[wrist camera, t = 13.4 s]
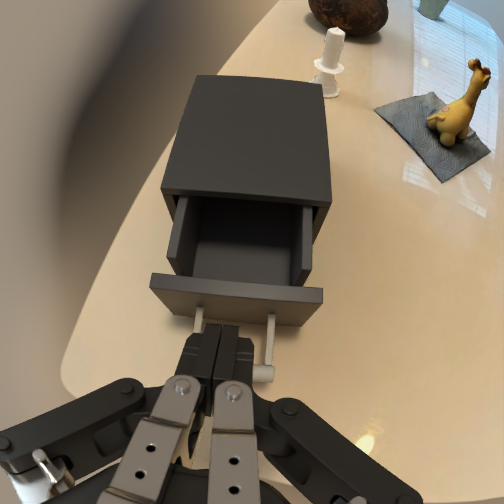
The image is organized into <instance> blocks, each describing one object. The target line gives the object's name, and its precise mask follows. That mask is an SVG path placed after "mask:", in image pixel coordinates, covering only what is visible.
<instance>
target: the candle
mask: <svg viewBox="0 0 504 504" xmlns="http://www.w3.org/2000/svg"><path fill="white" fill-rule="evenodd" d="M344 38H345V32H343V31H342V30H340V29H339V28H338V27H337V28H330V29H328V31H327V34H326V38H325V40H324V42H325V46H324V51H323V56H322V58H319V59H316V60H315V61H314V65H315V67H316V68H317V69H319V70H320V71H321V73H320V74H319V75H317V76H315V77H314V79H312V80H310V81H309V83H317V84H322V88H323V97H326V98H332V97H336V96H337V95H338V94H339V93H340V89H339V87H338V86H337V82H336V80H335V79H334V76H333V74H340V73H342V72H343V71H344V68H343V66H342V65H341V64H340V63H339V58H340V54H341V50H342V49H343V43H344Z"/></svg>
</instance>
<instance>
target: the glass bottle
mask: <svg viewBox="0 0 504 504" xmlns="http://www.w3.org/2000/svg"><path fill="white" fill-rule="evenodd" d="M308 2H309V6H310V9H311V11H312V13H313V14H314V16H315V17H316V18H317V19H318V20H319V21H320V22H321V23H322V24H323V25H325V26H326V27H328V28H337V27H338V28H339V29H340V30H342V31H343V32H345V34H347V35H353V36H364V35H369V34H372V33H375V32H376V31H378V30H380V29H381V28H382V27H383V26H384V25H385V23H386V21H387V19H388V7H387V0H308Z"/></svg>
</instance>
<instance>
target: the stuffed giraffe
mask: <svg viewBox="0 0 504 504" xmlns="http://www.w3.org/2000/svg"><path fill="white" fill-rule="evenodd" d="M468 66H469V69H471V70H472V71H474V73H473V75H472V77H471V81H470V85H469V87H468V90H467V92H466V94H465V95H464V96H463V97H462V98H460V99H458V100H456V101H454V102H452V103H450V104H448V105H446V104H445V103H444V102H443V101H442V100H441V99H439V98H438V97H437V96H436V94H435V93H434V92H430V93H428V94H426V95H421V96H414V97H410V98H408V99H403V100H399V101H395V102H392V103H390V104H387V105H384V106H381V107H377V108H375V109H374V110H375V111H376V112H377V113H378V114H379V115H380V116H382V117H384V118H385V119H386V120H387V121H389V122H390V123H391V124H392V125H393V126H394V127H395V128H396V130H397V131H398V132H399V133H400V134H401V135H402V136H403V137H404V138H405V139H406V140H408V142H409V143H410V144H411V145H412V146H413V147H414V149H415V150H416V151H417V152H418V153H419V154H420V156H421V157H423V159H424V161H425V163H426V164H427V165H428V166H429V167H430V168H431V169H432V170H433V172H434V173H435V174H436V176H437V177H438V178H439V179H440V180H441V181H442V182H444V181H446V180H447V179H449V178H450V177H452V176H453V175H455V174H456V173H458V172H459V171H461V170H462V169H464V168H465V167H466V166H468V165H469V164H471V163H473V162H474V161H476V160H477V159H479V158H481V157H482V156H484V155H486V154H488V153H489V152H491V151H490V150H489V149H488V148H487V146H486V145H485V144H483V143H482V141H481V140H480V139H479V138H478V136H477V135H476V132H475V131H474V130H472V129H471V128H470V127H469V123H470V121H471V119H472V116H473V114H474V110H475V106H476V102H477V100H478V97H479V95H480V93H481V90H484V89H486V88H487V86H488V83H489V79H490V78H491V76H490V74H491V72H490V70H489V68H487V67H484V66H481V63H480V60H479V59H477V58H476V59H475V60H473V59H472V60H469V62H468Z"/></svg>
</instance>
